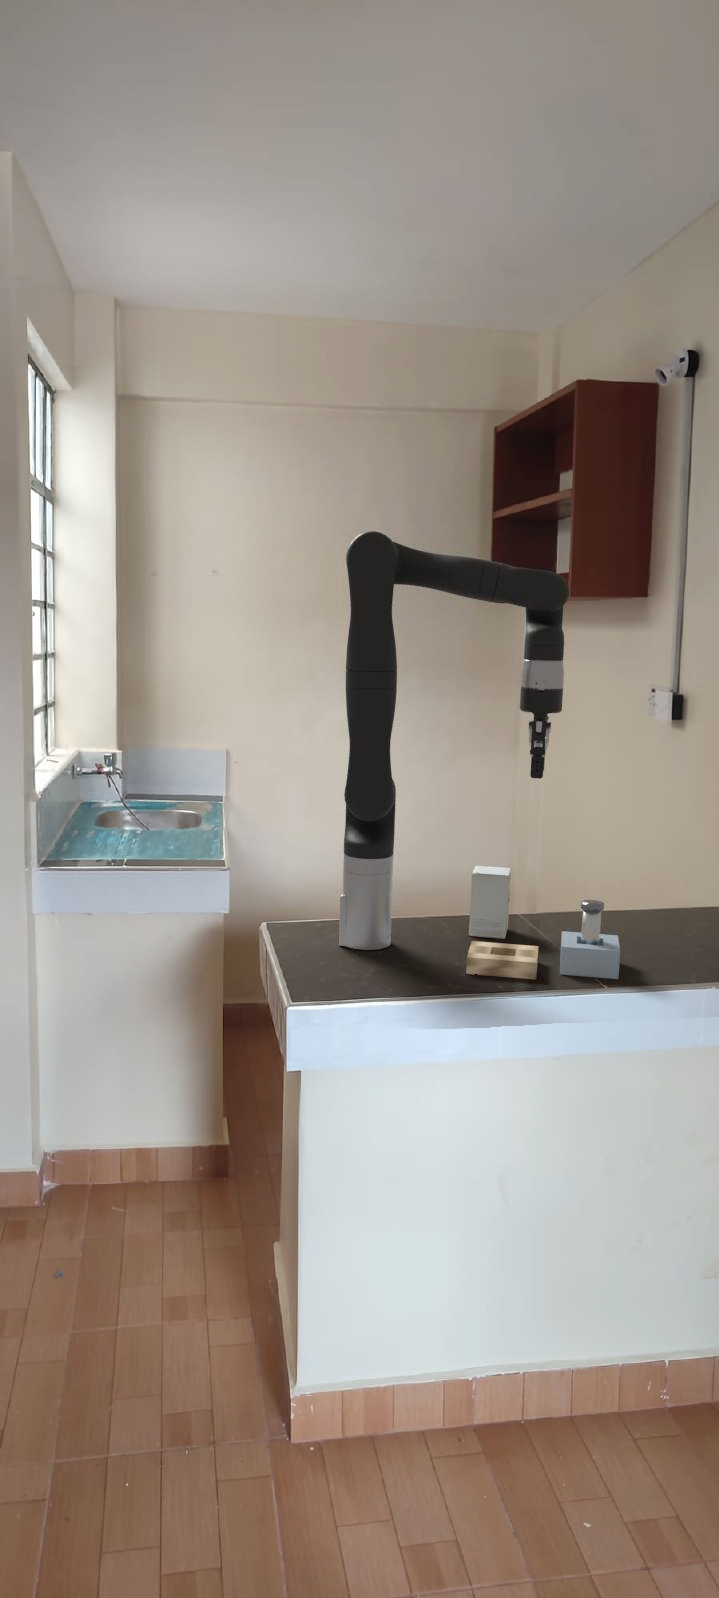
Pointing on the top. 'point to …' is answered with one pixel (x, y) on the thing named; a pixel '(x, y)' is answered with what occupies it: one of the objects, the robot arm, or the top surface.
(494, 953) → the mount
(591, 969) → the socket
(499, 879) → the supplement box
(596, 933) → the pin
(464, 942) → the top surface
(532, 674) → the robot arm
